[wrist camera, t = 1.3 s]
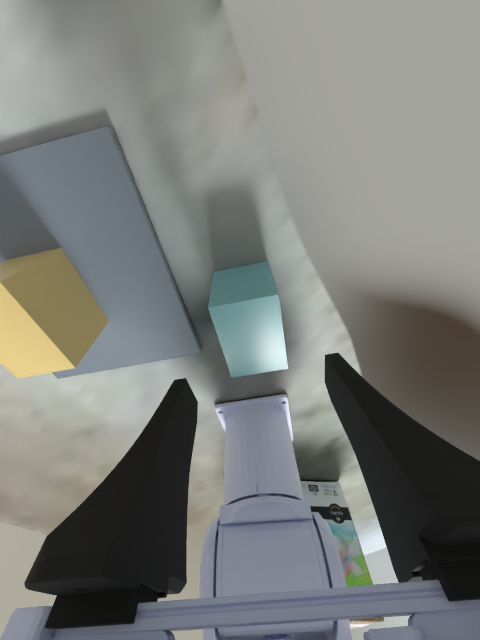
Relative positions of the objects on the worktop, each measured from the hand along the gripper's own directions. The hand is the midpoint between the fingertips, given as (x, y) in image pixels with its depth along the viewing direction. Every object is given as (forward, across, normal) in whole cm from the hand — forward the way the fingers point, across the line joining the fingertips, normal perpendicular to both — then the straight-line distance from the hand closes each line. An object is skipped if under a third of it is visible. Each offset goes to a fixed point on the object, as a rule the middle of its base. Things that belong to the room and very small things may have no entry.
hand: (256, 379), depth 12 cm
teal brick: (+8, 0, 0) cm, 8 cm away
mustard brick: (+7, +13, -4) cm, 15 cm away
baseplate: (+8, +12, -4) cm, 15 cm away
